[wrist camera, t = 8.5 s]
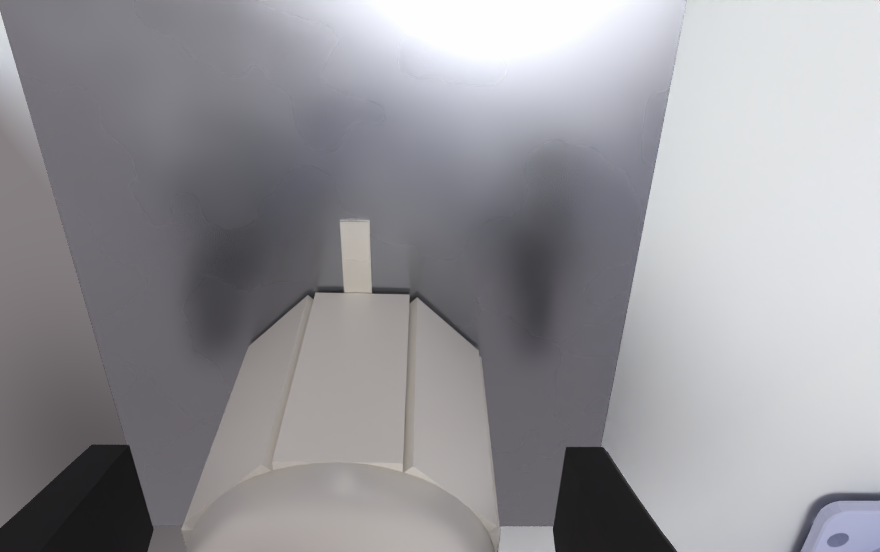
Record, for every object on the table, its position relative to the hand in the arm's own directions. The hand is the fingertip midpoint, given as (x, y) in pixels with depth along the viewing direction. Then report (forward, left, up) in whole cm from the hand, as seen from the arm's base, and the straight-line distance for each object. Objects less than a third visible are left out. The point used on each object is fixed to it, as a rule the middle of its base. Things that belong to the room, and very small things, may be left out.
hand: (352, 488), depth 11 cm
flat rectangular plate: (+4, 0, -3) cm, 5 cm away
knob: (0, 0, -2) cm, 2 cm away
